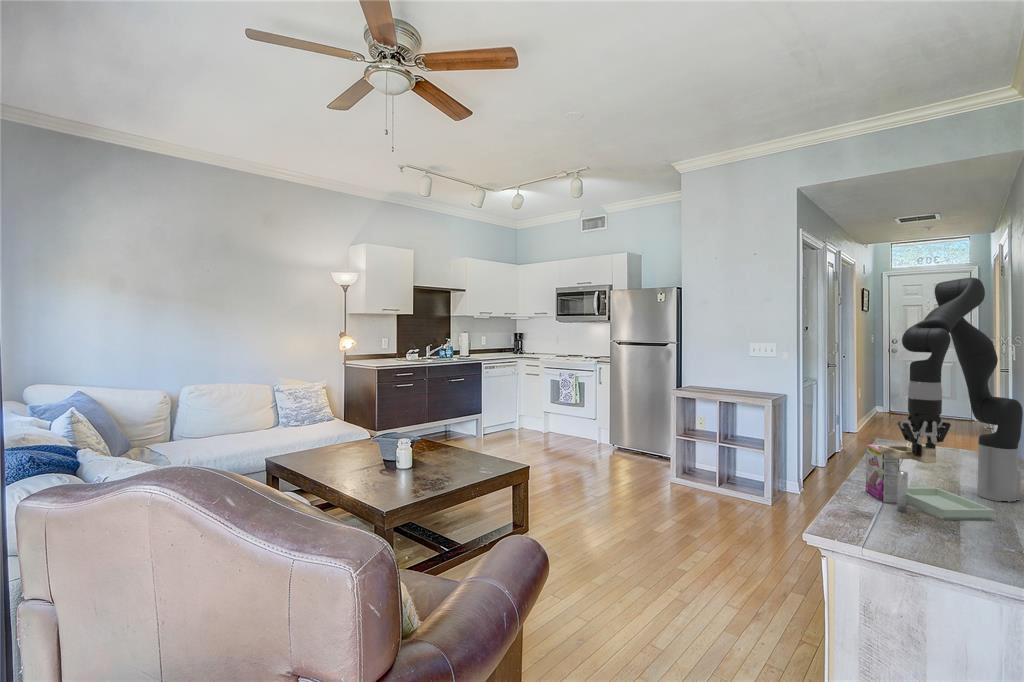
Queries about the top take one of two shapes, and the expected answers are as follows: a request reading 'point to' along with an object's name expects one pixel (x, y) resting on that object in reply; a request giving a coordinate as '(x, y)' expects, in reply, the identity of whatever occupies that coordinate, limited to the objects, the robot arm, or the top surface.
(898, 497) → the steel post
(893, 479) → the candy bar box
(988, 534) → the top surface
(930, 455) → the wooden frame with handle
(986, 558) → the top surface
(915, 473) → the top surface
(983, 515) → the tray
